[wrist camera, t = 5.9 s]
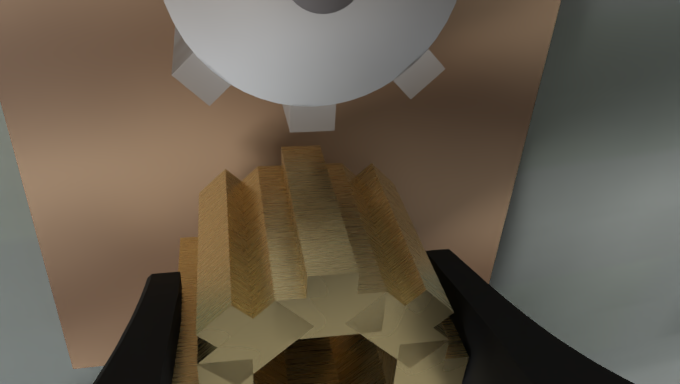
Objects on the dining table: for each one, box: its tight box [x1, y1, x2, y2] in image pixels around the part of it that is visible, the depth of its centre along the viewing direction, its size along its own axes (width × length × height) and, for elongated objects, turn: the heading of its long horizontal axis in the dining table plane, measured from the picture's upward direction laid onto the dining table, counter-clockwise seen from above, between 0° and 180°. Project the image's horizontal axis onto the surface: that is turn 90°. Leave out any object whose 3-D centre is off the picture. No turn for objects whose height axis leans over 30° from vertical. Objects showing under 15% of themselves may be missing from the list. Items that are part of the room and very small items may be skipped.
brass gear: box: [172, 145, 469, 384], centre depth 14 cm, size 6×6×4 cm
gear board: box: [0, 0, 561, 369], centre depth 14 cm, size 18×13×5 cm
